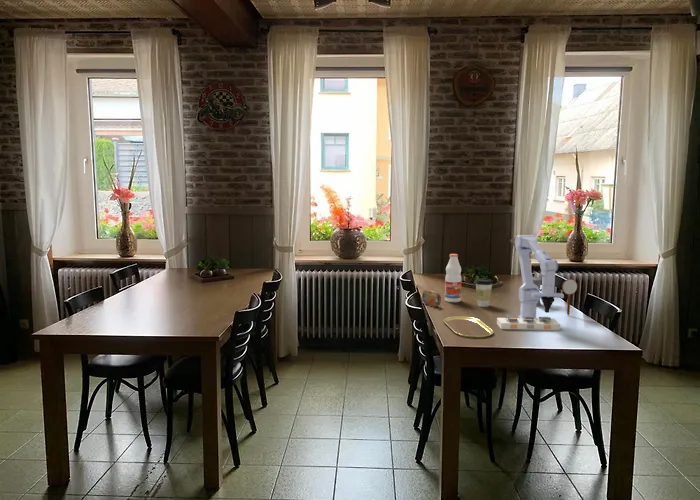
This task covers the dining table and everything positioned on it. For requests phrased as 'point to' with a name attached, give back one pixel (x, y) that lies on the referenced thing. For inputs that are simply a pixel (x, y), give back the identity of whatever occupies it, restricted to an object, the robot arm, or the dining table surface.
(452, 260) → the fruit juice
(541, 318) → the rocker
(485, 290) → the coffee cup
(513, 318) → the rocker
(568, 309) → the magnifying glass
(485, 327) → the serving platter
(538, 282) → the coffeepot
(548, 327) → the switch panel
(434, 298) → the tin
